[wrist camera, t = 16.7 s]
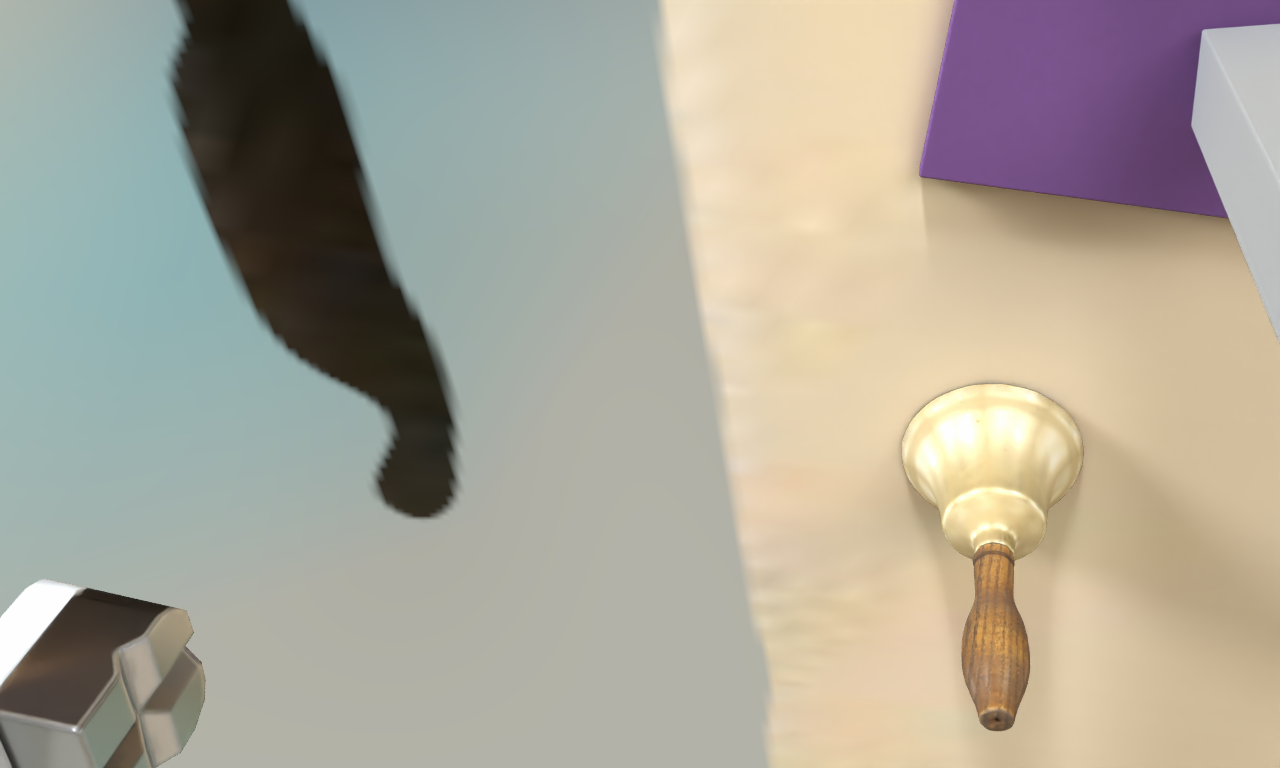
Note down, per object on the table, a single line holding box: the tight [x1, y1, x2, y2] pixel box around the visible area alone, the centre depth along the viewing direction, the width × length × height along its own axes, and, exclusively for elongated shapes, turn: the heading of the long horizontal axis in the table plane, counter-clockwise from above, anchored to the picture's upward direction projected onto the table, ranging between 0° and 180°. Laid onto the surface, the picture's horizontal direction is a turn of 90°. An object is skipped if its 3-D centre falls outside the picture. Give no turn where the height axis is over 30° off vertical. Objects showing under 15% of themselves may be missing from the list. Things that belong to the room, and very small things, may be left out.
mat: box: [919, 0, 1280, 218], centre depth 44 cm, size 12×22×1 cm, turn 87°
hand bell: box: [902, 384, 1083, 731], centre depth 50 cm, size 8×8×16 cm
